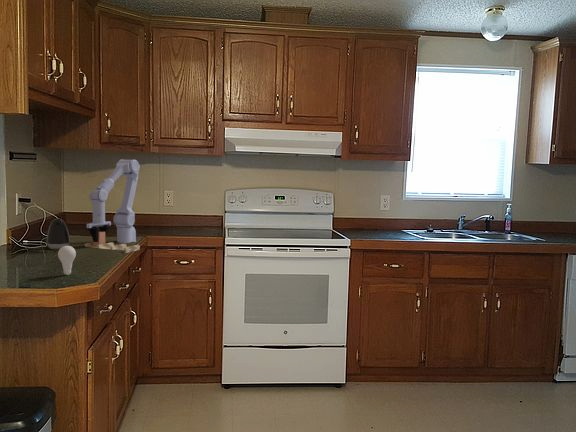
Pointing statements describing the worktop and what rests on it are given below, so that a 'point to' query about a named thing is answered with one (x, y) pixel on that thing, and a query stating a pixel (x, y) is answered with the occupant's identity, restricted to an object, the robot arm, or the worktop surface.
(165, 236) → the worktop surface
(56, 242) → the dark grey dome
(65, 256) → the lightbulb
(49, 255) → the worktop surface
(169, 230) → the worktop surface
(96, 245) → the block
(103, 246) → the notched rack
